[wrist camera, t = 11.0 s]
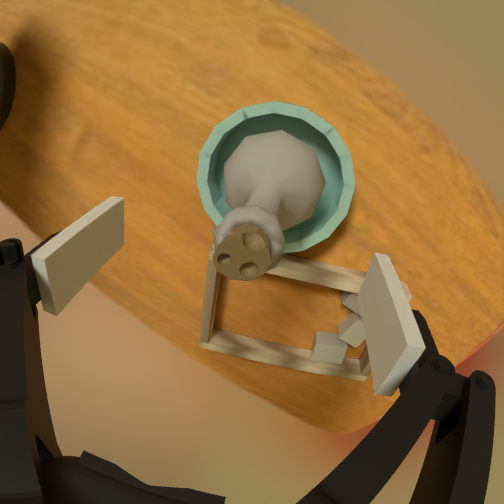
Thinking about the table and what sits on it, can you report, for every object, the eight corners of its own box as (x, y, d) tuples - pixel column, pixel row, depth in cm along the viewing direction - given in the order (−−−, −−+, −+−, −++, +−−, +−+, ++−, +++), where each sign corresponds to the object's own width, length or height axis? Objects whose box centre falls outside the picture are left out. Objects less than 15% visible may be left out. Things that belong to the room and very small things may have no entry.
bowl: (201, 222, 35) (190, 235, 32) (219, 91, 28) (209, 91, 25) (328, 251, 34) (330, 267, 31) (364, 122, 27) (371, 125, 24)
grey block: (311, 346, 41) (310, 360, 38) (316, 330, 39) (316, 343, 37) (340, 350, 40) (341, 364, 38) (346, 334, 39) (347, 347, 37)
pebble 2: (354, 335, 39) (356, 347, 37) (337, 325, 38) (338, 338, 36) (372, 317, 37) (375, 329, 35) (356, 307, 37) (358, 319, 35)
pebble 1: (340, 292, 36) (341, 303, 34) (355, 277, 35) (357, 288, 33) (361, 307, 37) (363, 318, 35) (376, 293, 36) (379, 304, 34)
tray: (205, 331, 42) (199, 346, 39) (217, 238, 35) (209, 250, 33) (362, 365, 41) (364, 381, 38) (405, 282, 34) (412, 296, 31)
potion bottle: (257, 111, 28) (192, 131, 12) (339, 159, 29) (378, 239, 13) (216, 188, 32) (130, 285, 16) (292, 231, 33) (275, 362, 17)
